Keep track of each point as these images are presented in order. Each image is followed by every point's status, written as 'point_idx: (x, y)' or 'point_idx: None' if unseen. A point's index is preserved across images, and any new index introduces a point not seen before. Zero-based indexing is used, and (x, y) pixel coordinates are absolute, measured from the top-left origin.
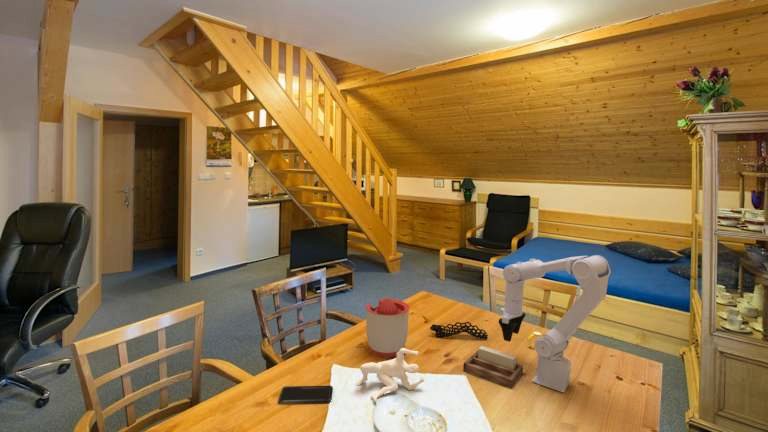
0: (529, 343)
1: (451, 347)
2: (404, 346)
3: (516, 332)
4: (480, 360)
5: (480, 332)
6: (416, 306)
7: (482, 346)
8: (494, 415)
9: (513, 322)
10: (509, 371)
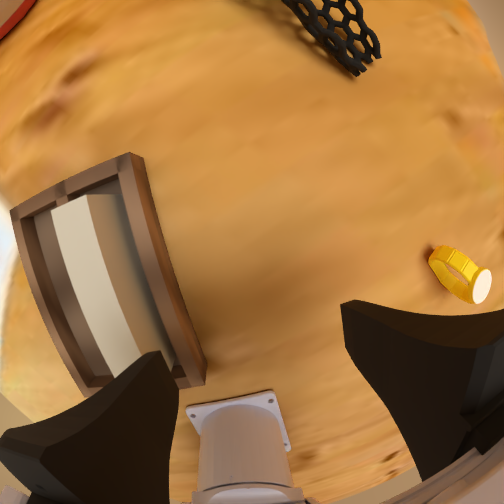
0: (435, 259)
1: (143, 32)
2: (6, 21)
3: (349, 344)
4: None
5: (331, 37)
6: None
7: (84, 205)
8: (11, 387)
9: (395, 357)
10: None
